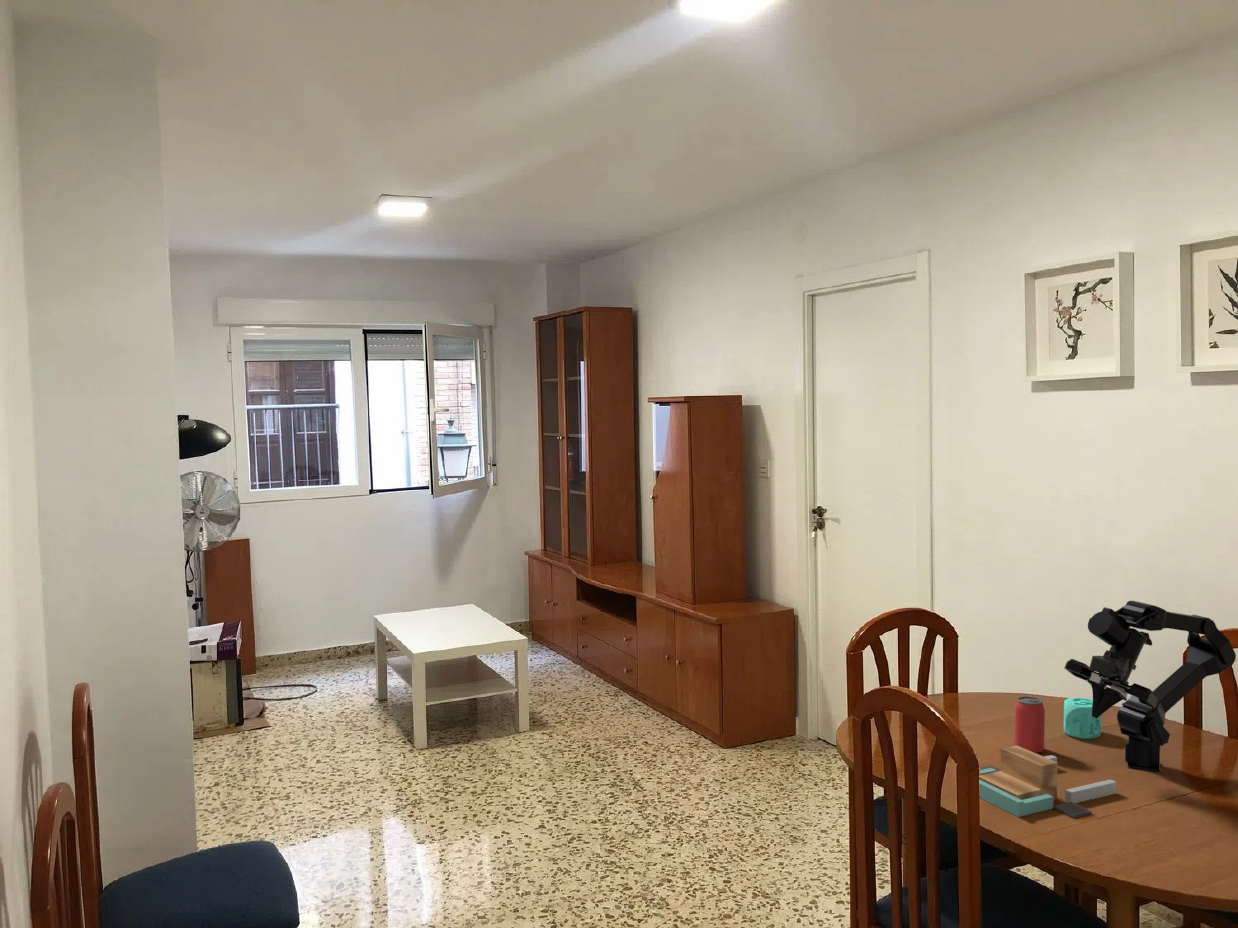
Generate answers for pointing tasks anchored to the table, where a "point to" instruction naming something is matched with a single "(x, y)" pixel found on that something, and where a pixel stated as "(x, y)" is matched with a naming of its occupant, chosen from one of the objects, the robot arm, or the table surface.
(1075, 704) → the decorative dice
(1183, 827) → the table surface
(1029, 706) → the beer can
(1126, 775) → the table surface
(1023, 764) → the step block
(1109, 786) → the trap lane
